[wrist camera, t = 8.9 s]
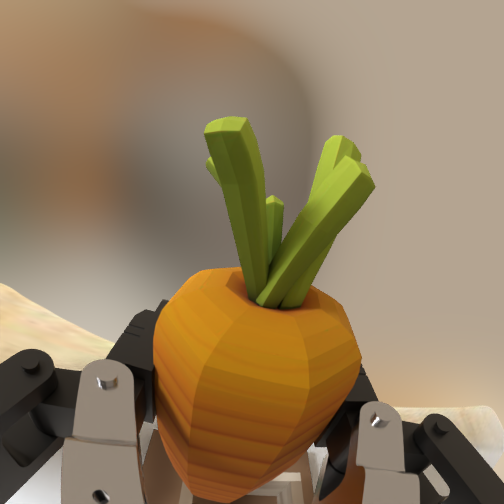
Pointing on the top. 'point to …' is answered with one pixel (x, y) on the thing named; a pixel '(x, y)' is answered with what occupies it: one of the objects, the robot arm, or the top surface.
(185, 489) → the socket board
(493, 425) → the top surface
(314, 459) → the top surface
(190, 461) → the carrot
